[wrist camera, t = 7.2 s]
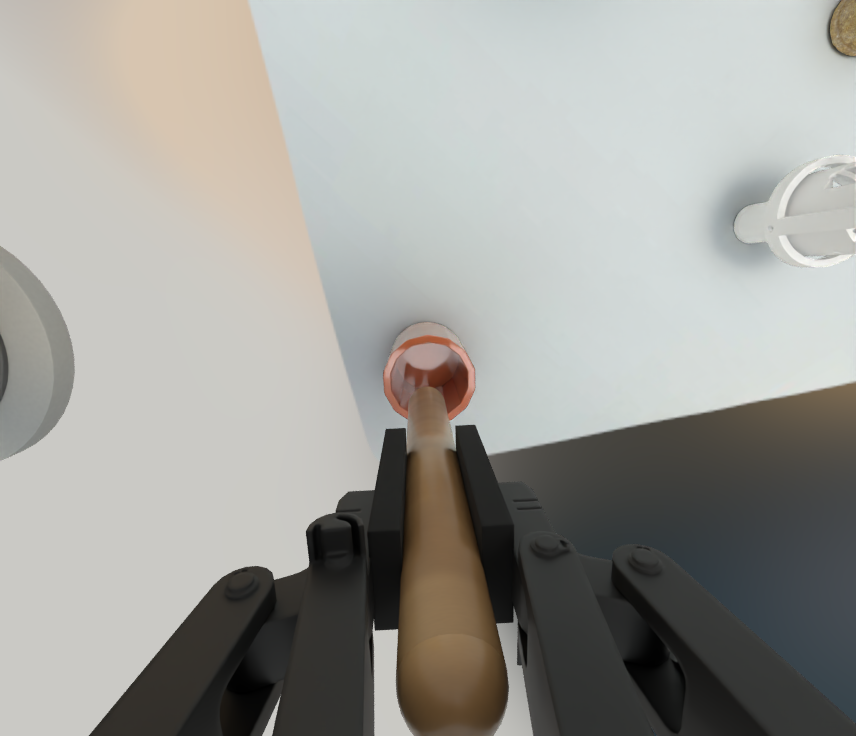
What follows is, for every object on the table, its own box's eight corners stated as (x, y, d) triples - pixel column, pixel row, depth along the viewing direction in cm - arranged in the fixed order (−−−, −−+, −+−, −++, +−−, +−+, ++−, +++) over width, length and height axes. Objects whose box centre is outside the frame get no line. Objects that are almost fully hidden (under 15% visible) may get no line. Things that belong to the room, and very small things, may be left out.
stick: (409, 416, 24) (396, 793, 7) (408, 383, 24) (389, 693, 6) (444, 415, 24) (520, 785, 7) (443, 381, 24) (522, 686, 6)
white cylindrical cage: (791, 166, 33) (1082, 83, 19) (799, 254, 35) (1072, 241, 20) (704, 192, 34) (923, 129, 19) (715, 278, 35) (926, 282, 21)
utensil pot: (393, 394, 37) (386, 427, 29) (388, 322, 35) (380, 336, 28) (463, 391, 37) (475, 423, 29) (462, 319, 36) (474, 332, 28)
